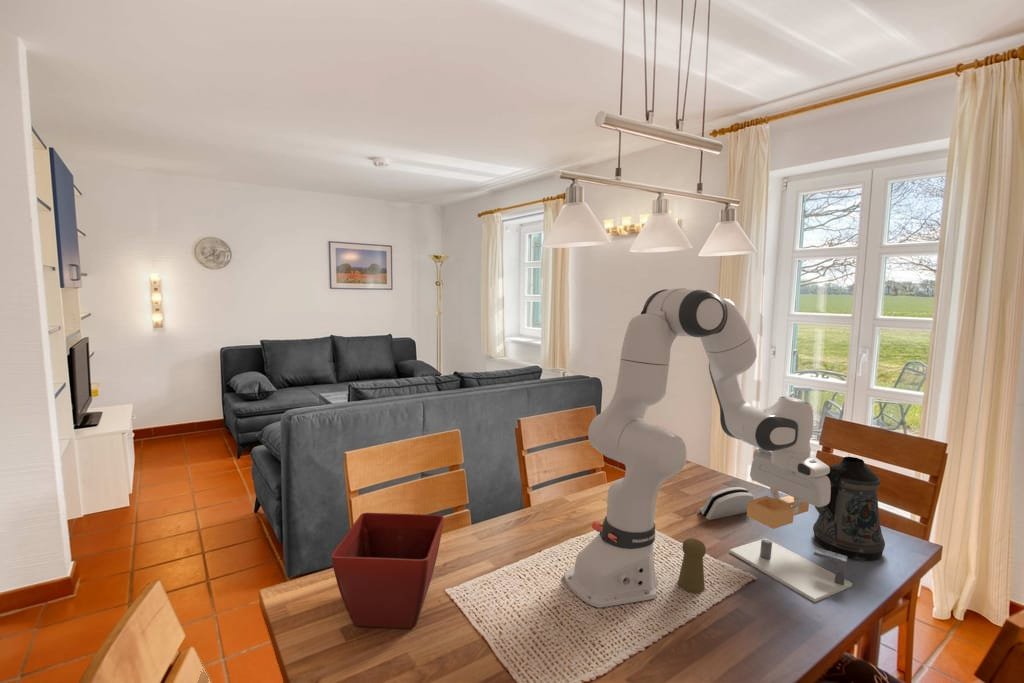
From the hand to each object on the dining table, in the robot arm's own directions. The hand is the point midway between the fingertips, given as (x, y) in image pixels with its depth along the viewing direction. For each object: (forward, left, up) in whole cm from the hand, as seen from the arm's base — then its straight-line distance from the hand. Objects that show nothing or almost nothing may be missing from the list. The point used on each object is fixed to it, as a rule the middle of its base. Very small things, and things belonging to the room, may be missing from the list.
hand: (785, 508), depth 131 cm
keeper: (-1, -13, -13) cm, 18 cm away
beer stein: (+20, -5, -13) cm, 24 cm away
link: (-1, 0, -2) cm, 2 cm away
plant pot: (-99, +21, -13) cm, 102 cm away
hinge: (+6, +23, -13) cm, 27 cm away
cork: (-33, 0, -13) cm, 35 cm away
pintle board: (-5, -5, -13) cm, 15 cm away
